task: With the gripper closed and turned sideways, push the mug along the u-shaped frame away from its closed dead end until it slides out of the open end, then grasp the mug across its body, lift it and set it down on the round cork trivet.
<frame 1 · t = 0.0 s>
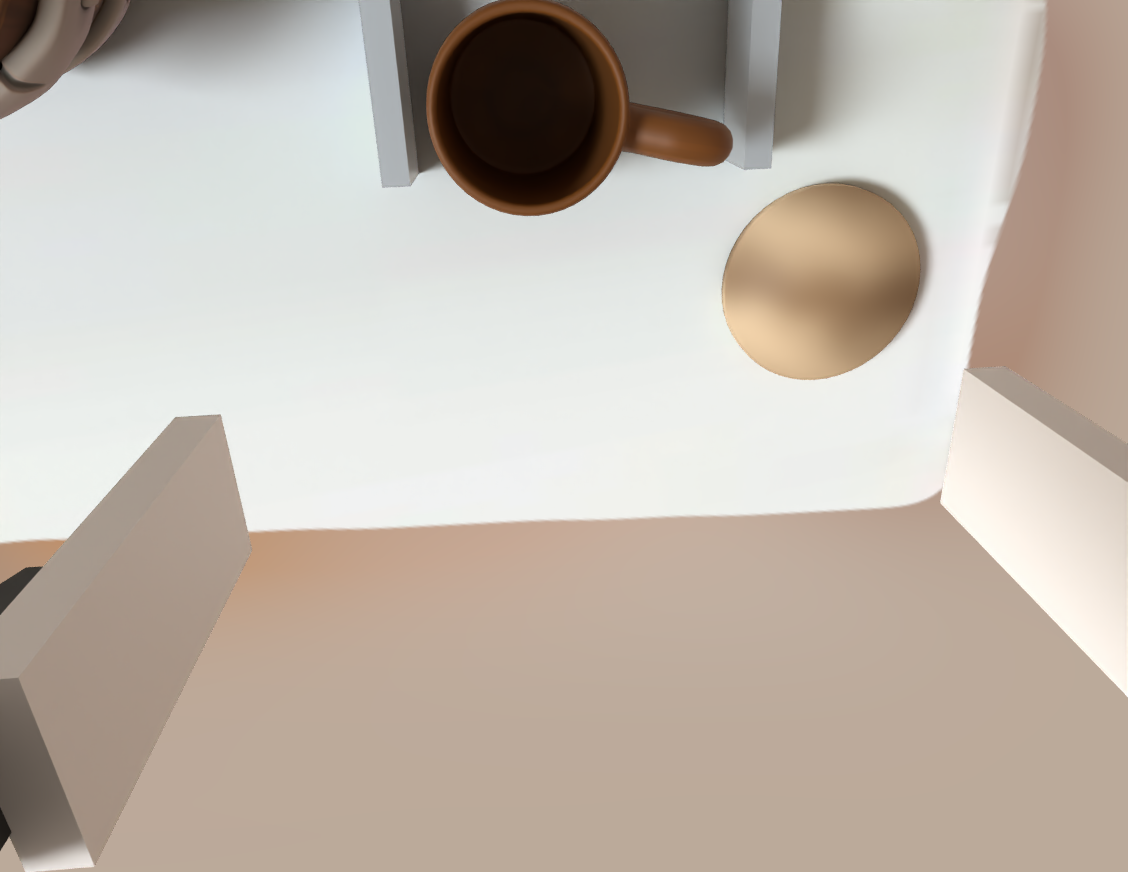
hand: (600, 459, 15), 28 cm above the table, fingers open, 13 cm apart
mug: (569, 107, 39), on the table
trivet: (817, 283, 43), on the table
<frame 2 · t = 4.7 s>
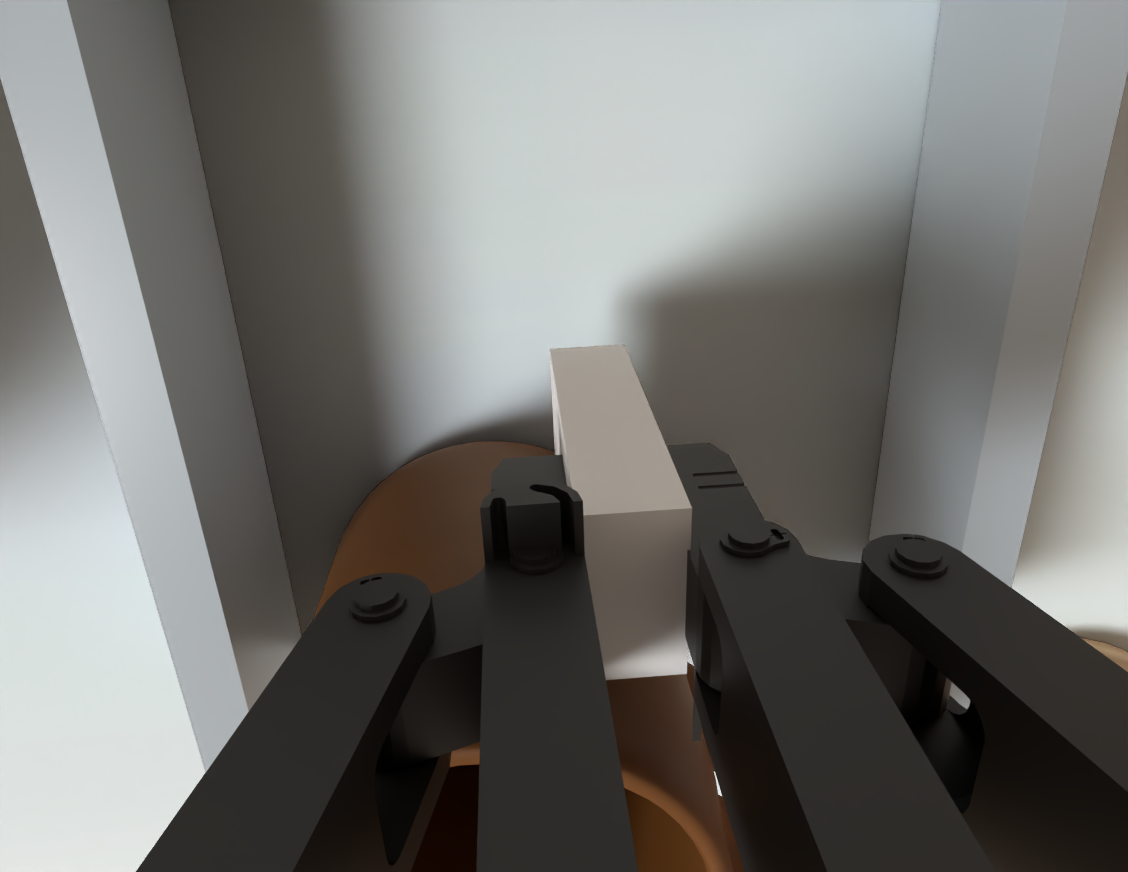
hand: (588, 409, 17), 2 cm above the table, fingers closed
mug: (580, 572, 21), on the table, touching gripper, hand
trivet: (1007, 771, 25), on the table
u-shaped frame: (575, 308, 18), on the table
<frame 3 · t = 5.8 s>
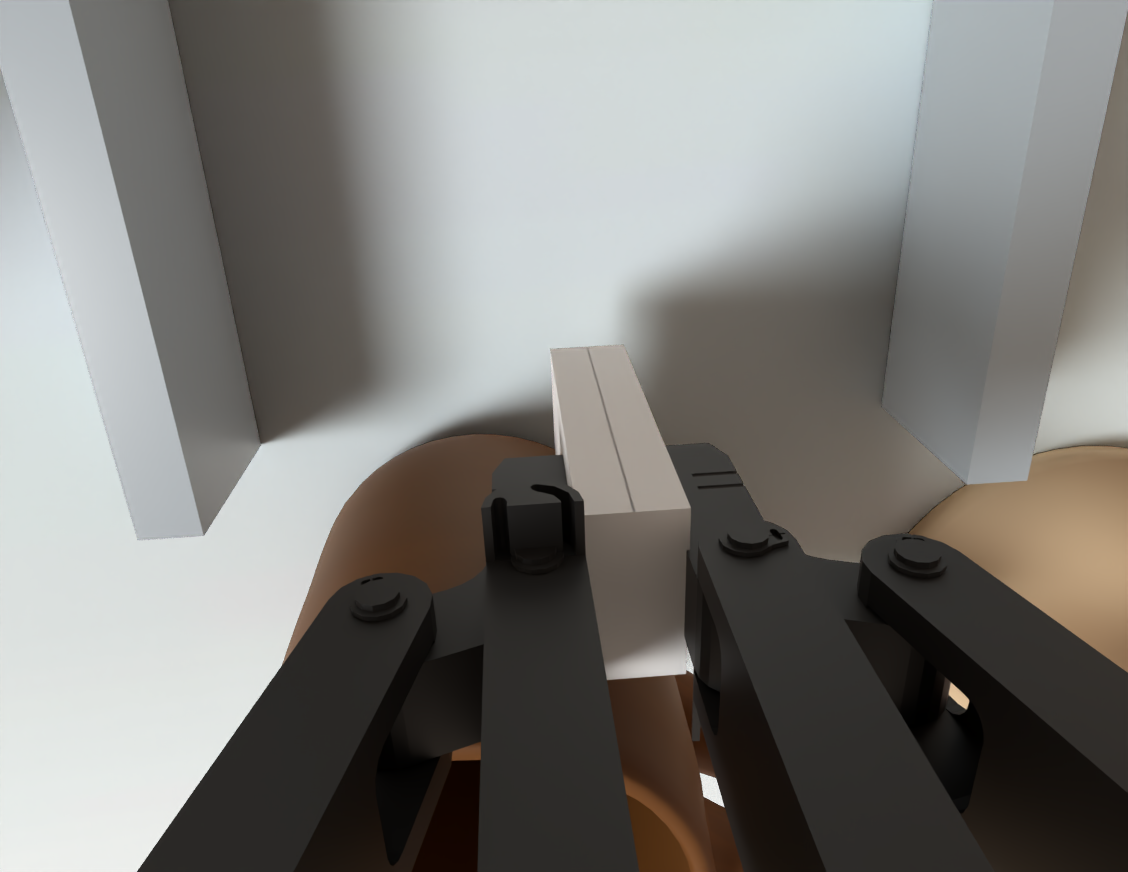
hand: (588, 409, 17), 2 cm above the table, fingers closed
mug: (569, 568, 21), on the table, touching gripper, hand
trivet: (1043, 612, 23), on the table
u-shaped frame: (561, 12, 16), on the table
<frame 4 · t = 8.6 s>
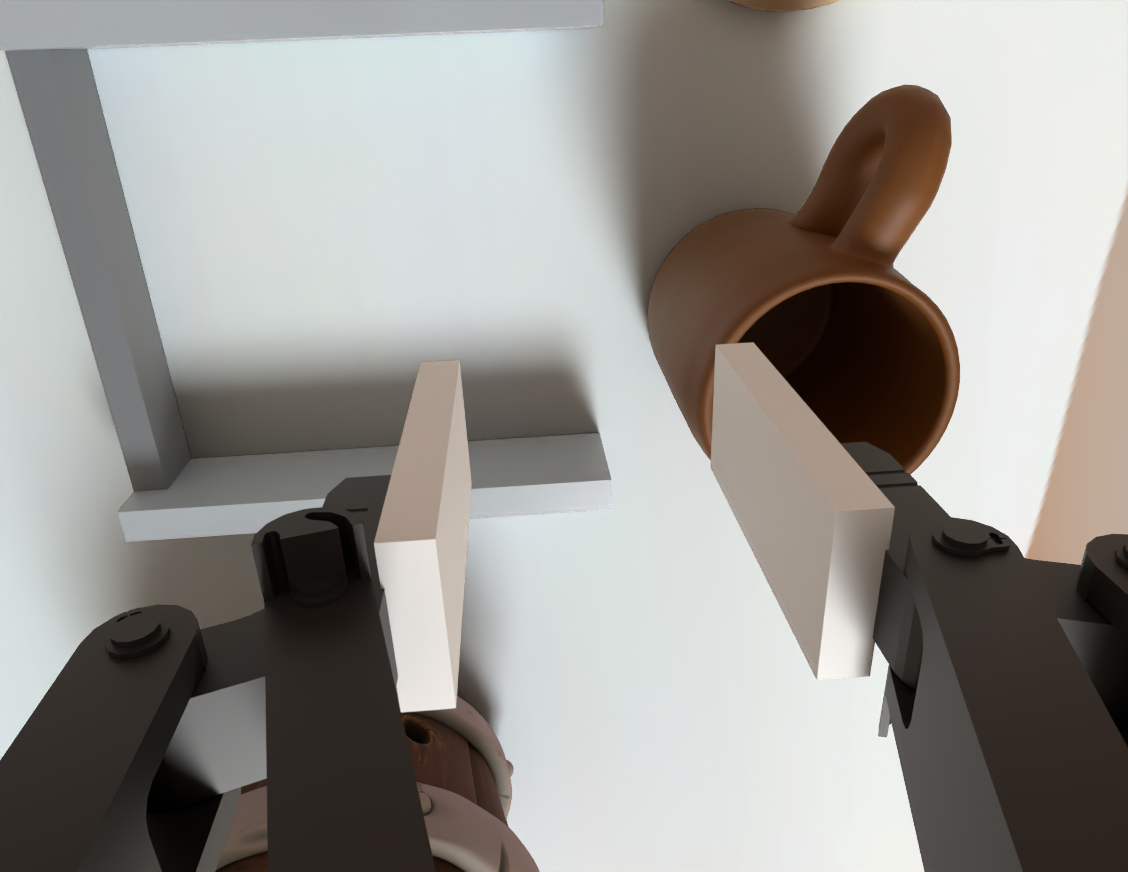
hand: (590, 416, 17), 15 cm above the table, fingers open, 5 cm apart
flowerpot: (383, 745, 40), on the table
mug: (761, 248, 31), on the table
u-shaped frame: (355, 263, 30), on the table
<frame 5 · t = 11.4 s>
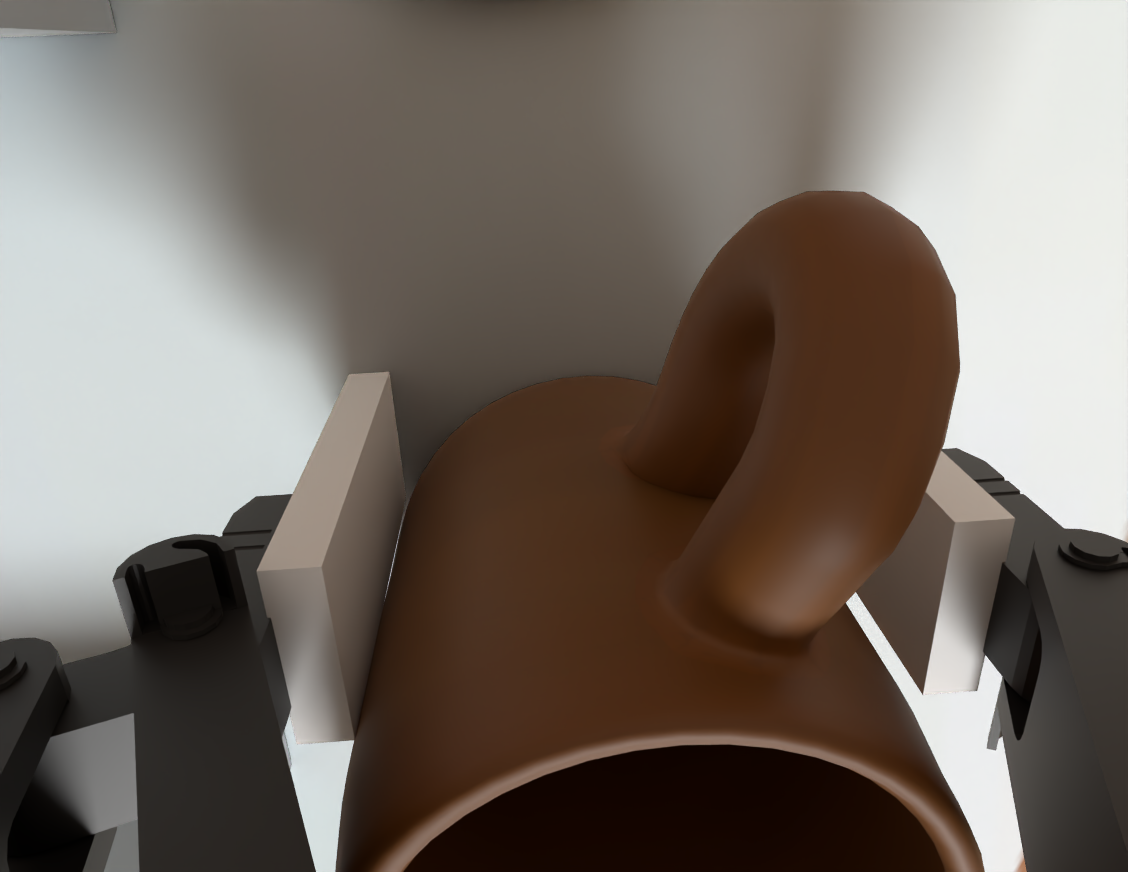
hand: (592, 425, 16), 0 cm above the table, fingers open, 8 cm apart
mug: (612, 434, 17), on the table, touching gripper
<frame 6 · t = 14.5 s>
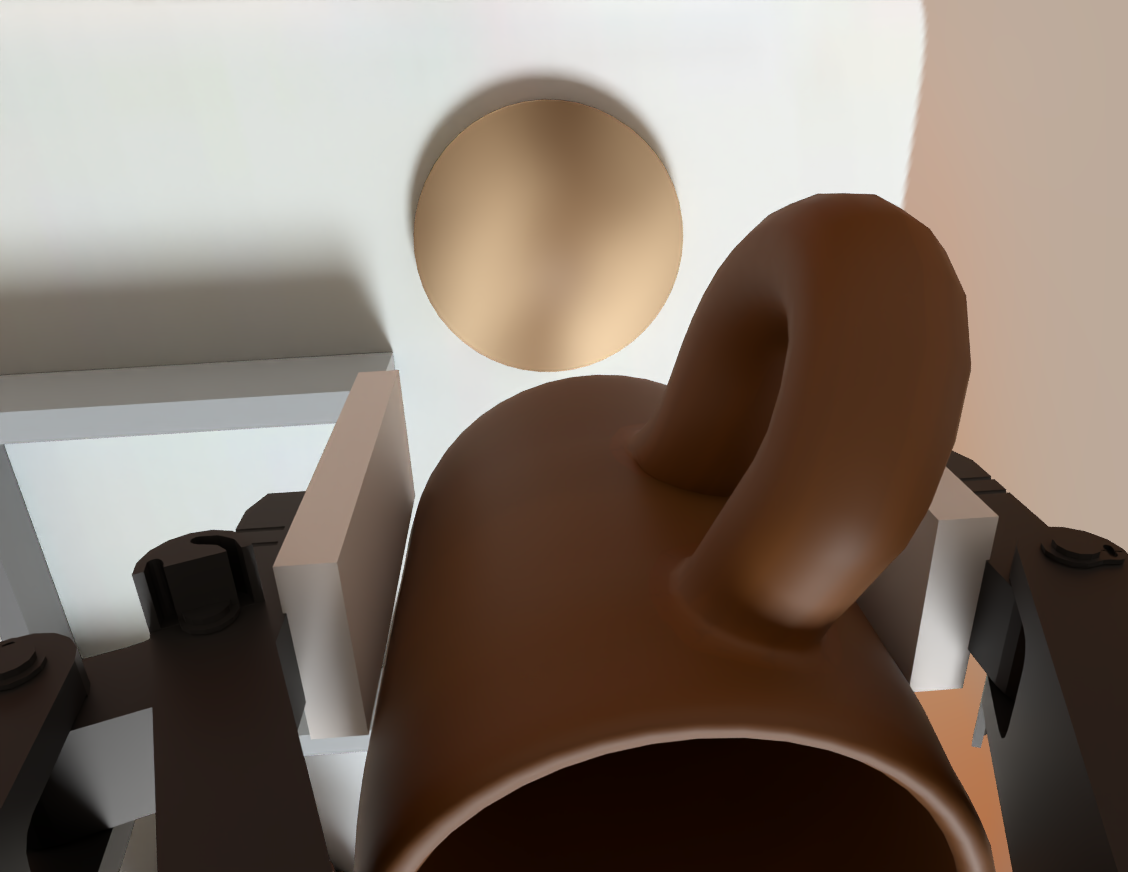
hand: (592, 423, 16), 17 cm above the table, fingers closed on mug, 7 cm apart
mug: (620, 433, 17), point 16 cm above the table, touching gripper
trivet: (548, 240, 32), on the table
u-shaped frame: (218, 547, 36), on the table
when the fingers open (2 cm above the table, at t = 17.5 s): mug drops 1 cm, resting on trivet.
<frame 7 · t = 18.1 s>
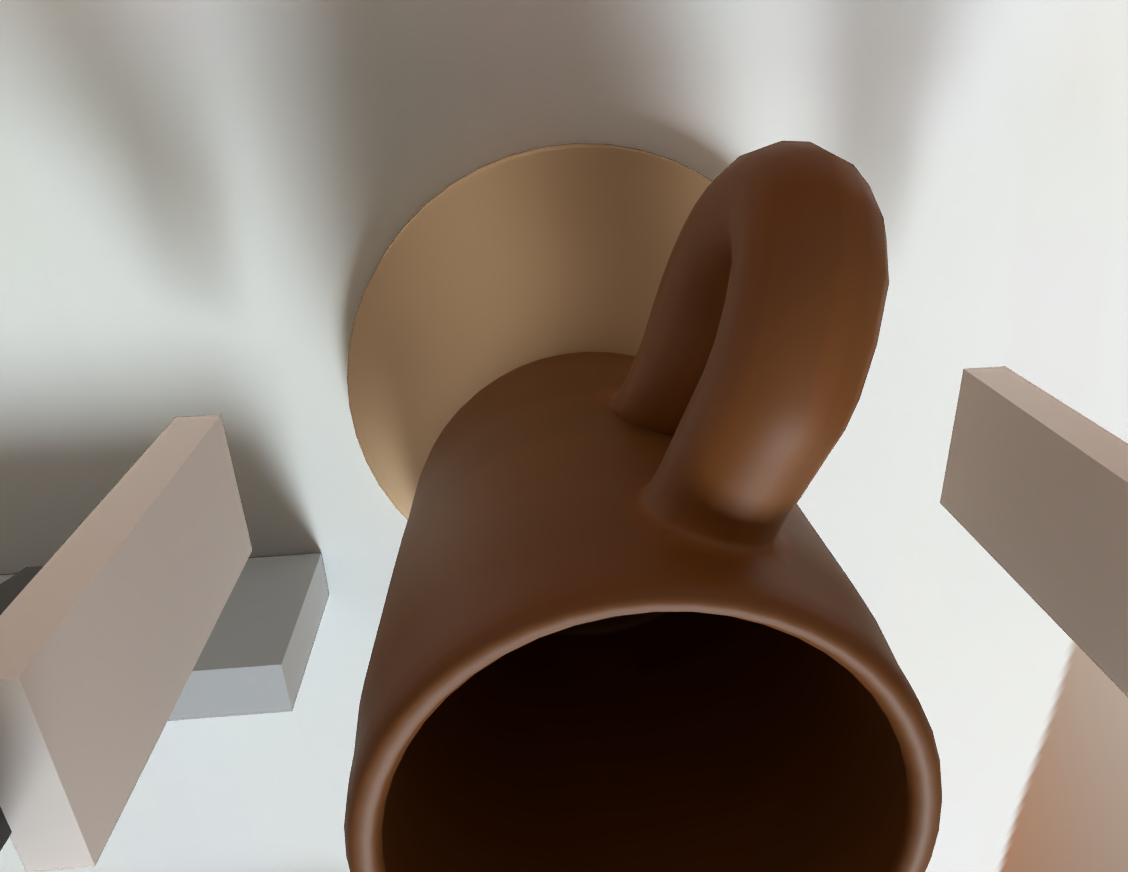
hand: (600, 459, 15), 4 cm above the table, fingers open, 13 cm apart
mug: (611, 410, 18), point 1 cm above the table, touching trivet
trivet: (581, 379, 19), on the table
u-shaped frame: (58, 831, 23), on the table
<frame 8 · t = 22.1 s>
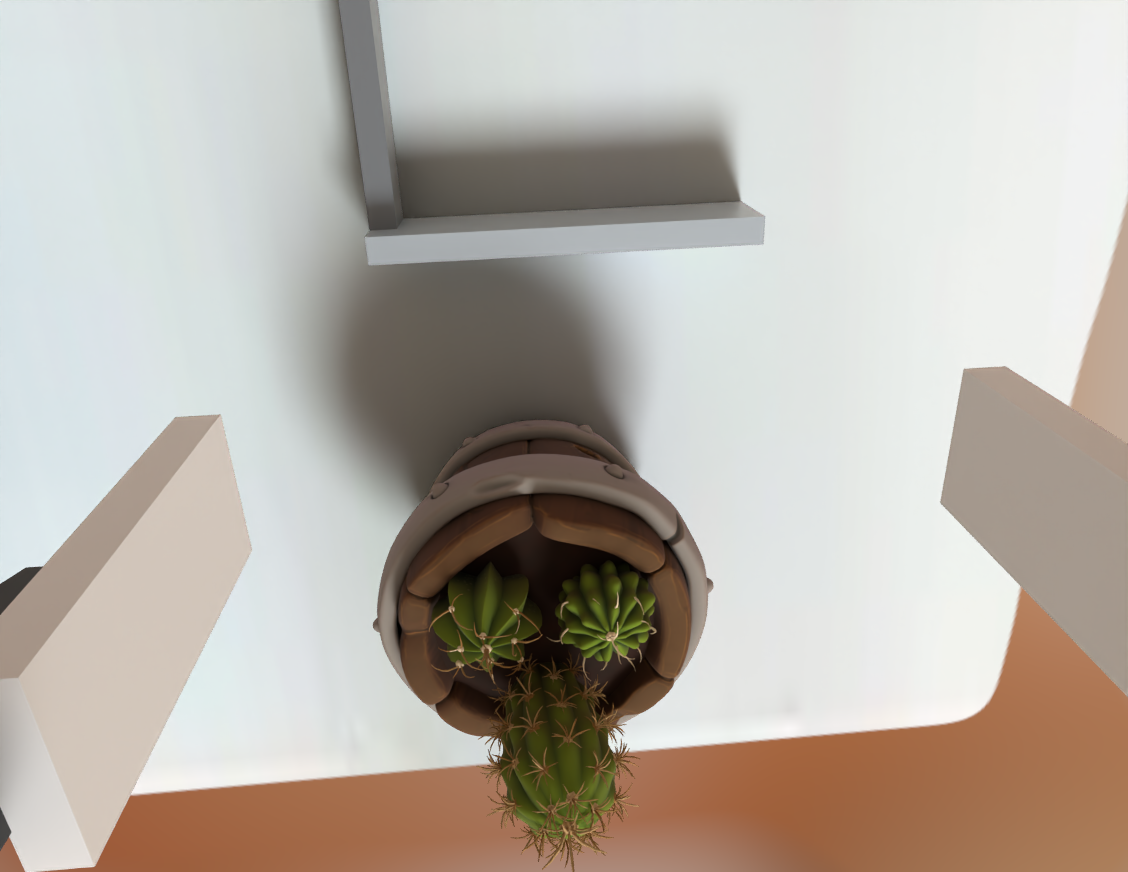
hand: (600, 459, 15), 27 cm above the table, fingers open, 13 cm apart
flowerpot: (536, 501, 46), on the table
u-shaped frame: (554, 40, 36), on the table
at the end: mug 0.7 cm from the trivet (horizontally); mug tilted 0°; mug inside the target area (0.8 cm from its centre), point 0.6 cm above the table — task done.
